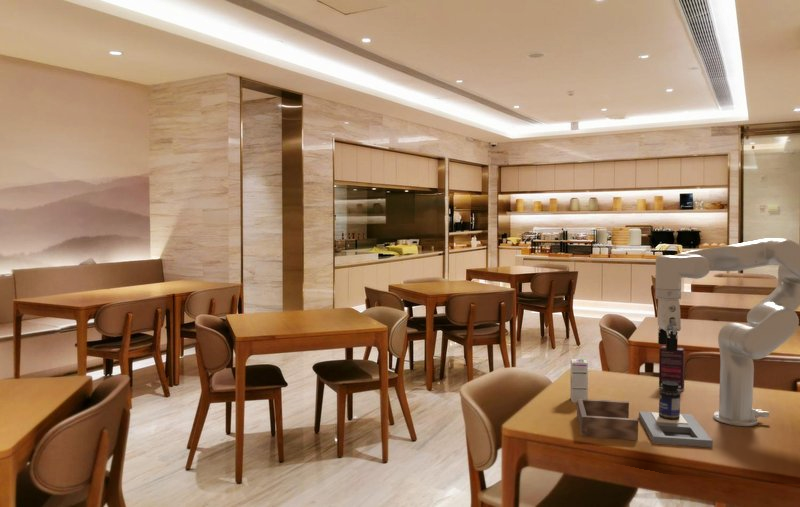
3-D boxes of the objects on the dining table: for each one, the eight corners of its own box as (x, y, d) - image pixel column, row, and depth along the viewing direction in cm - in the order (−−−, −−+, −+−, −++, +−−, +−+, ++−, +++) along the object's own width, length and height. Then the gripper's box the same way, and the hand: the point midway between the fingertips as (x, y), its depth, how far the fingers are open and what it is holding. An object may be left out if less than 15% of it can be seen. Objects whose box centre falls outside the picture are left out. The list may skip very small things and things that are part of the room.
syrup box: (588, 403, 218) (588, 362, 217) (570, 402, 219) (571, 362, 219) (586, 398, 224) (587, 359, 223) (569, 397, 225) (570, 358, 224)
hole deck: (691, 420, 200) (691, 413, 200) (712, 447, 177) (712, 439, 176) (638, 417, 203) (639, 410, 203) (653, 443, 180) (653, 435, 180)
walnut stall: (627, 419, 201) (628, 401, 200) (637, 440, 182) (638, 420, 182) (576, 416, 204) (577, 398, 204) (581, 436, 185) (581, 416, 185)
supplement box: (684, 388, 237) (685, 348, 236) (682, 391, 232) (683, 350, 231) (660, 385, 241) (661, 345, 240) (658, 388, 237) (659, 347, 236)
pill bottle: (654, 415, 198) (655, 381, 197) (670, 413, 200) (671, 379, 199) (668, 421, 192) (669, 386, 192) (684, 419, 194) (685, 384, 193)
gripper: (688, 297, 187) (688, 353, 188) (673, 290, 204) (672, 342, 205) (662, 297, 188) (662, 353, 189) (649, 290, 205) (648, 341, 206)
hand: (667, 347), depth 197 cm, fingers open, 9 cm apart
